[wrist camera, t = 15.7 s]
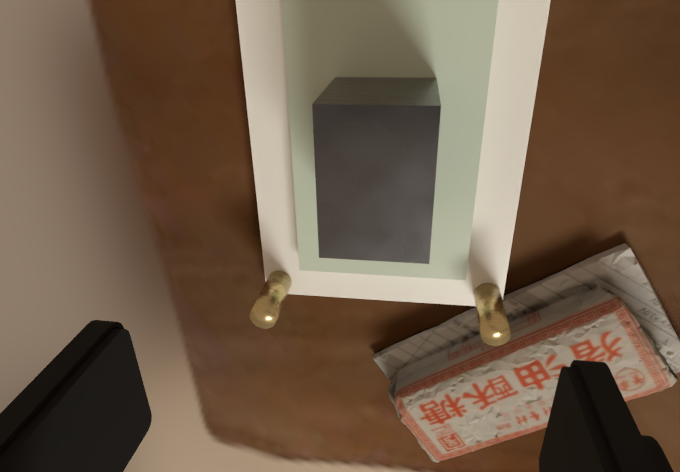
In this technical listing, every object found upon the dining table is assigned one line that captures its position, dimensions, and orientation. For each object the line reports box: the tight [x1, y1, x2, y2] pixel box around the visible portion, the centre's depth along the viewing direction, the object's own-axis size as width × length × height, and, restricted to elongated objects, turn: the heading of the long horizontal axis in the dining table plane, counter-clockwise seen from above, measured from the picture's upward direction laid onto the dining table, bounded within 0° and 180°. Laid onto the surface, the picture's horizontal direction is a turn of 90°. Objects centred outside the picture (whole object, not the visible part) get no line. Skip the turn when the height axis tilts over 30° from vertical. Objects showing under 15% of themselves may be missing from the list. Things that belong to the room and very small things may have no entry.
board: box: [282, 0, 499, 280], centre depth 24 cm, size 10×16×7 cm, turn 1°
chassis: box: [235, 0, 551, 346], centre depth 26 cm, size 15×21×5 cm
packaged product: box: [373, 243, 680, 463], centre depth 32 cm, size 18×5×10 cm
